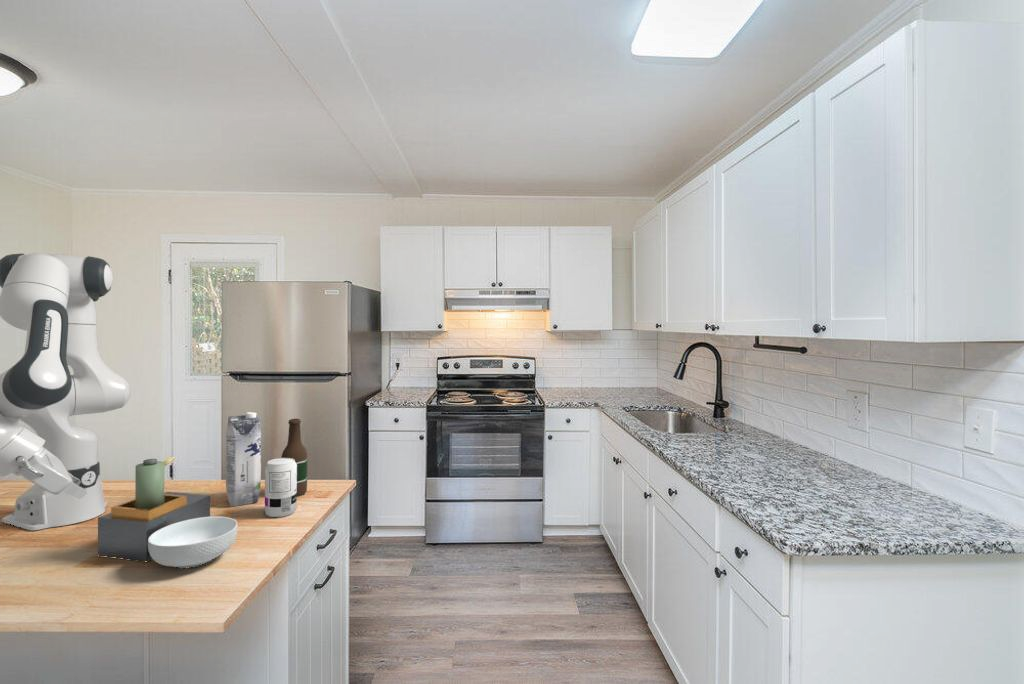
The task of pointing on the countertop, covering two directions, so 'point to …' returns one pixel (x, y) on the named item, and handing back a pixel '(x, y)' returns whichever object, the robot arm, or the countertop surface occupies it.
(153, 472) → the oil can
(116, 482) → the countertop surface
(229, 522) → the cereal bowl
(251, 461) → the juice carton
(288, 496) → the supplement can
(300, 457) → the beer bottle
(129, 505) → the box
